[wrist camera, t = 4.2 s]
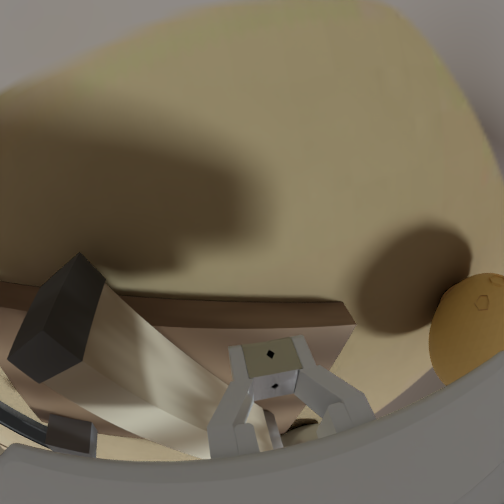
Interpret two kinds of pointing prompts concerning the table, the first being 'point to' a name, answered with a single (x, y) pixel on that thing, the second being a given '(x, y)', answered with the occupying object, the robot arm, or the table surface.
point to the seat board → (187, 340)
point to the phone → (22, 424)
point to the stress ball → (467, 326)
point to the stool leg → (121, 364)
